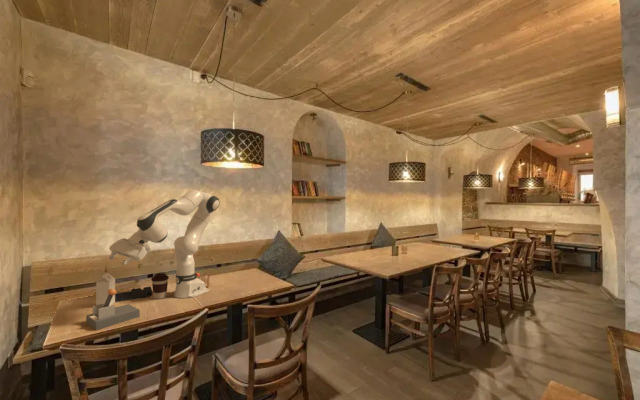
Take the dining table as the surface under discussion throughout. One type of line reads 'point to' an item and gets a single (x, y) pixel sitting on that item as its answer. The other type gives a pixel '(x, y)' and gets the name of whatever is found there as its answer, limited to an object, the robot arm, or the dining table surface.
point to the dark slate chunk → (133, 294)
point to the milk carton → (104, 289)
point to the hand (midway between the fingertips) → (116, 261)
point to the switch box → (111, 315)
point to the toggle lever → (109, 297)
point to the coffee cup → (160, 285)
